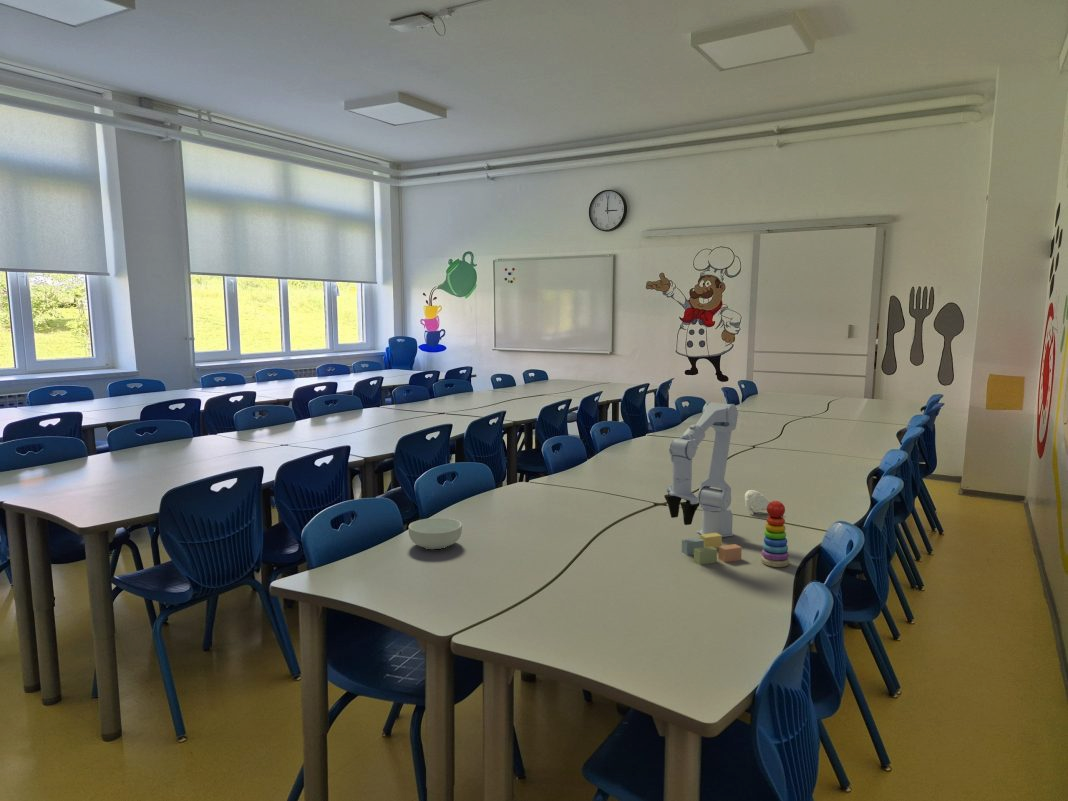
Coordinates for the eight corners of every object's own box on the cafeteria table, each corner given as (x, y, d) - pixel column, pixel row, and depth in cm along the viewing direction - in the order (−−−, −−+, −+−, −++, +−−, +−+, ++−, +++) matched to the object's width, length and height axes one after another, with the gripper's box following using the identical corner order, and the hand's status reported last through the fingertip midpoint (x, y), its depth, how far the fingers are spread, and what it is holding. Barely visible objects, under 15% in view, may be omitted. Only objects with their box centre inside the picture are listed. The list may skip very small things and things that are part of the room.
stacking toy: (788, 560, 198) (791, 499, 196) (789, 569, 191) (792, 506, 188) (760, 557, 201) (763, 496, 198) (760, 566, 193) (763, 503, 191)
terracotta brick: (734, 556, 201) (735, 544, 201) (741, 560, 199) (741, 547, 198) (718, 559, 199) (718, 546, 199) (724, 562, 197) (724, 549, 196)
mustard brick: (715, 544, 212) (716, 532, 211) (721, 547, 209) (721, 535, 209) (699, 547, 210) (700, 534, 209) (705, 550, 207) (705, 537, 207)
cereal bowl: (473, 545, 211) (472, 524, 210) (431, 559, 199) (431, 537, 198) (439, 534, 223) (438, 513, 222) (398, 546, 211) (397, 525, 210)
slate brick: (698, 549, 207) (698, 537, 207) (703, 553, 205) (704, 540, 204) (681, 552, 205) (681, 539, 205) (687, 555, 202) (687, 542, 202)
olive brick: (710, 559, 200) (711, 546, 199) (716, 562, 197) (717, 549, 196) (693, 561, 197) (694, 548, 197) (699, 565, 195) (699, 551, 194)
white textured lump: (745, 487, 248) (778, 492, 245) (742, 509, 250) (775, 514, 247) (745, 491, 242) (780, 496, 239) (742, 514, 243) (777, 519, 241)
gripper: (658, 473, 208) (657, 515, 210) (683, 484, 195) (682, 529, 197) (677, 471, 211) (677, 513, 212) (704, 482, 197) (702, 526, 199)
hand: (680, 520), depth 205 cm, fingers open, 7 cm apart
